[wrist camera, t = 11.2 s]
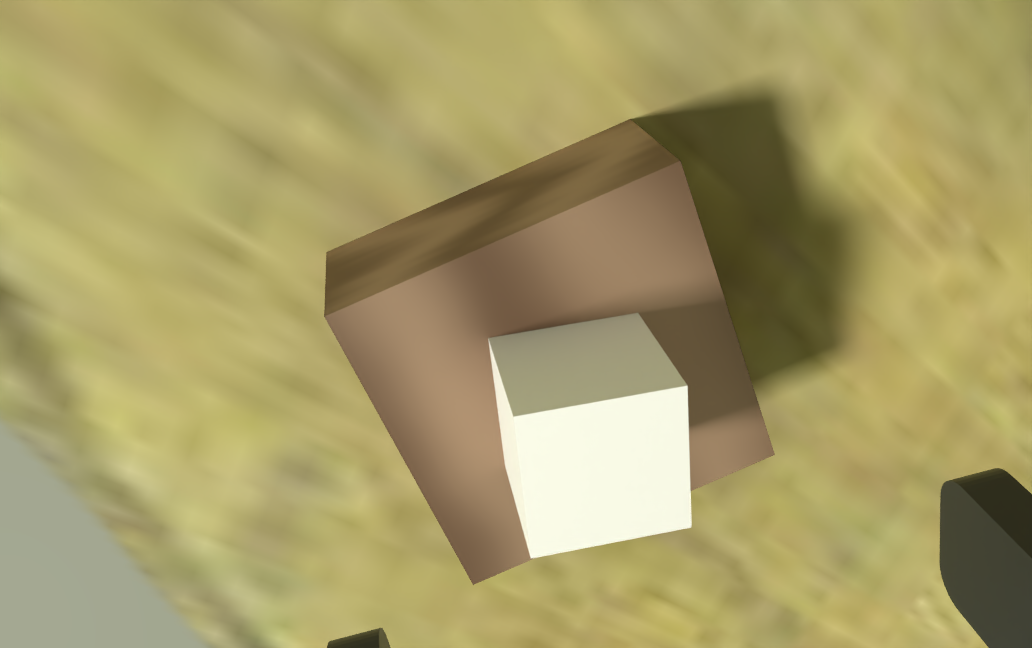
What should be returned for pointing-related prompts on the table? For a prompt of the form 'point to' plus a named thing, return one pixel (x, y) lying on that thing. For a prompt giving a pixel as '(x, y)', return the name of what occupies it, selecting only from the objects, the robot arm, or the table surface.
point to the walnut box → (535, 319)
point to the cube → (592, 433)
